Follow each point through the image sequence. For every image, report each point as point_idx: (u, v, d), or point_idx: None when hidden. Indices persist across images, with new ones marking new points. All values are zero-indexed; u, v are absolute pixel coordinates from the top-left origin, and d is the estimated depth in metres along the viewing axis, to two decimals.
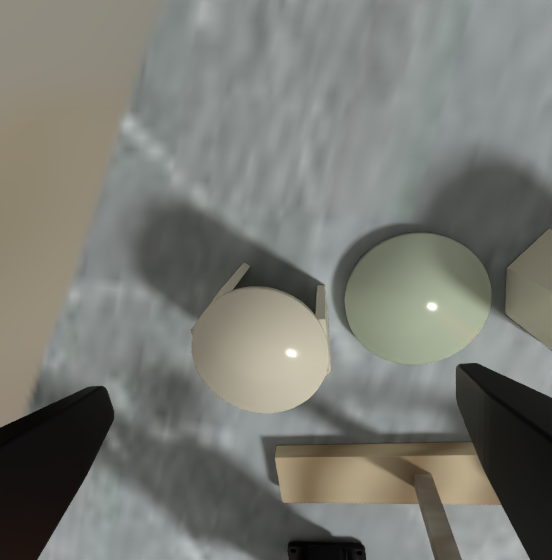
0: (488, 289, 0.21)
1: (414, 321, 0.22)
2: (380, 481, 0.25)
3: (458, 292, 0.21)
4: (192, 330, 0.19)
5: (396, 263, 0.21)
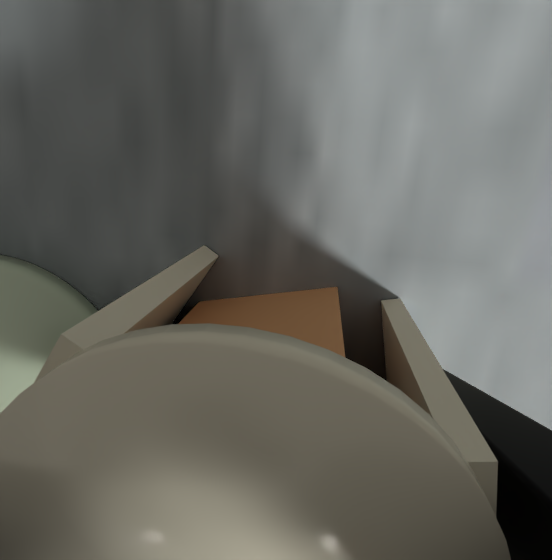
0: None
1: None
2: None
3: None
4: None
5: None
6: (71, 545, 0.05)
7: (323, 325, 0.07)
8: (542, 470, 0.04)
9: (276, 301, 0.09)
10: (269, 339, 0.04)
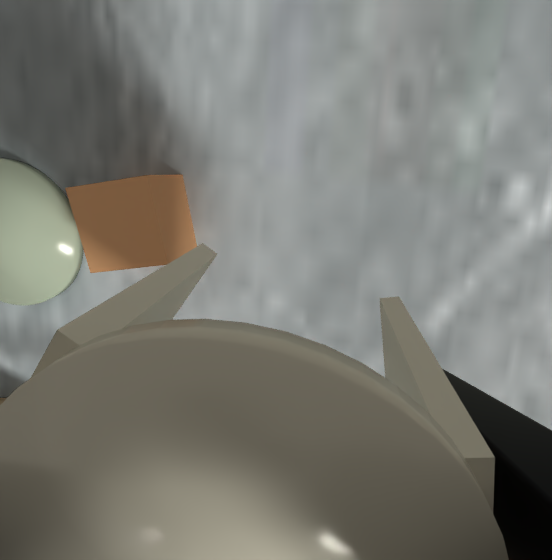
0: (65, 219, 0.19)
1: (10, 256, 0.20)
2: None
3: (39, 223, 0.20)
4: None
5: None
6: (68, 541, 0.05)
7: None
8: (542, 470, 0.04)
9: None
10: (266, 334, 0.04)
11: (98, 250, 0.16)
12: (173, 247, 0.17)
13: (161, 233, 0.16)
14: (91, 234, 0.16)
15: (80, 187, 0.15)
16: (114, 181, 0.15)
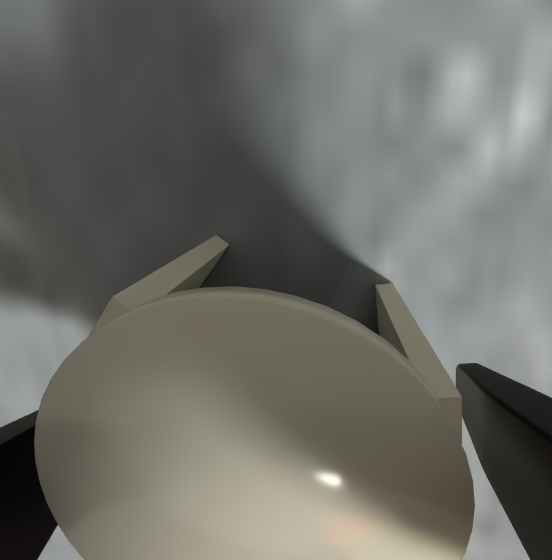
0: None
1: None
2: None
3: None
4: None
5: None
6: (116, 472, 0.06)
7: None
8: None
9: None
10: (281, 297, 0.05)
11: None
12: None
13: None
14: None
15: None
16: None
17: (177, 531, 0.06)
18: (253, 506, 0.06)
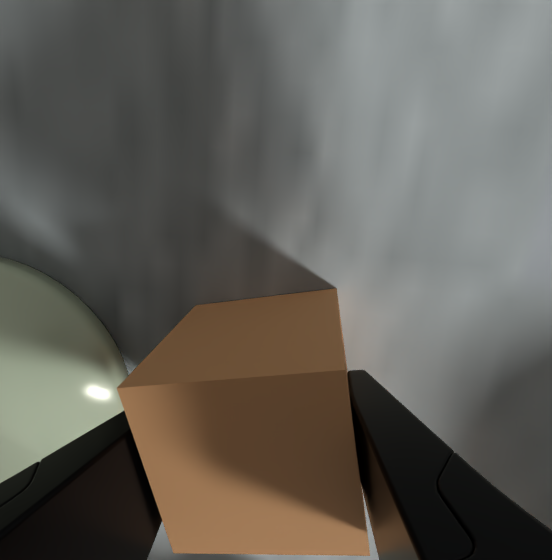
0: (103, 371, 0.10)
1: (0, 426, 0.11)
2: None
3: (53, 377, 0.10)
4: None
5: None
6: None
7: (322, 330, 0.07)
8: (406, 472, 0.04)
9: (273, 305, 0.09)
10: None
11: (194, 515, 0.07)
12: (361, 487, 0.07)
13: (362, 493, 0.06)
14: (180, 484, 0.07)
15: (156, 388, 0.06)
16: (249, 380, 0.06)
17: None
18: None
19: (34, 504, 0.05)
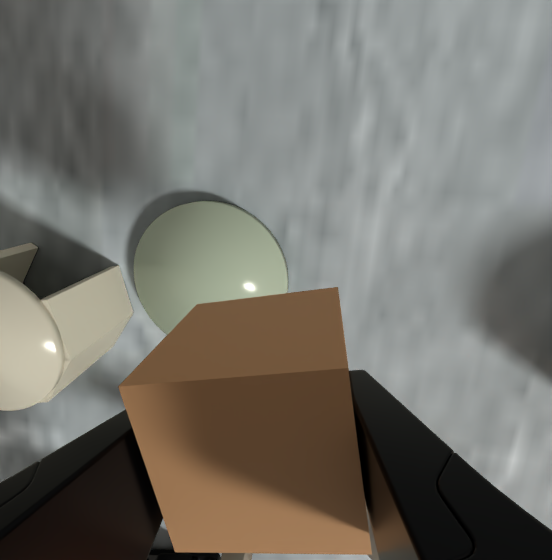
0: (281, 263, 0.18)
1: None
2: None
3: (250, 269, 0.18)
4: None
5: (177, 236, 0.18)
6: None
7: (323, 328, 0.07)
8: (406, 472, 0.04)
9: (274, 304, 0.09)
10: None
11: (195, 514, 0.07)
12: None
13: (363, 492, 0.06)
14: (182, 482, 0.07)
15: (157, 386, 0.06)
16: (251, 378, 0.06)
17: None
18: None
19: (34, 504, 0.05)
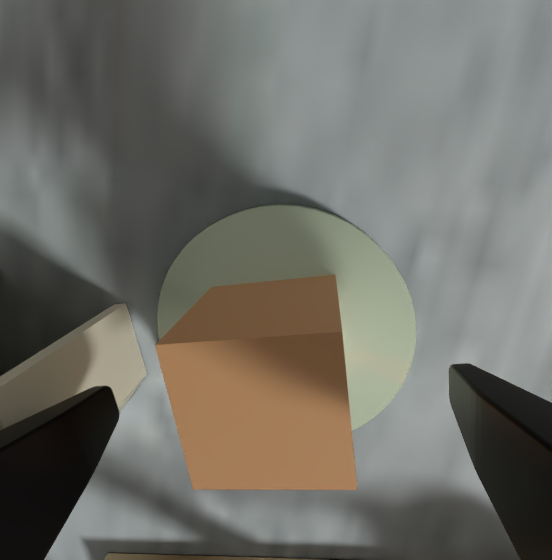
0: (409, 312, 0.11)
1: None
2: None
3: (355, 319, 0.11)
4: None
5: (234, 263, 0.11)
6: None
7: (323, 305, 0.08)
8: None
9: (280, 287, 0.10)
10: None
11: (212, 455, 0.08)
12: None
13: None
14: (203, 427, 0.08)
15: (187, 345, 0.07)
16: (265, 339, 0.07)
17: None
18: None
19: None
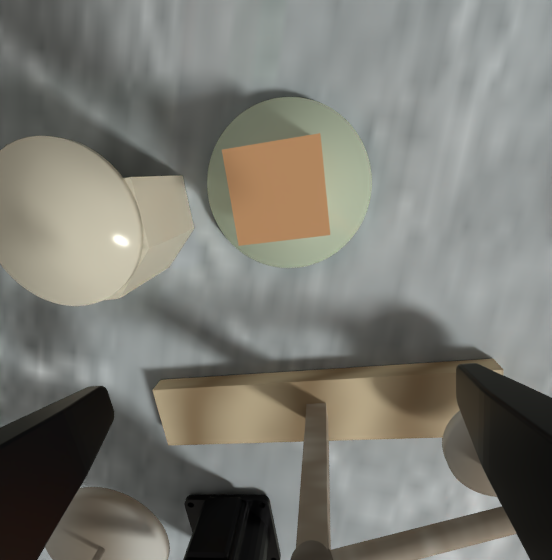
0: (367, 165, 0.17)
1: None
2: (271, 414, 0.22)
3: (333, 172, 0.18)
4: None
5: (258, 137, 0.17)
6: None
7: None
8: None
9: None
10: None
11: (250, 220, 0.15)
12: None
13: (326, 200, 0.14)
14: (245, 201, 0.15)
15: (239, 148, 0.14)
16: (280, 141, 0.14)
17: None
18: None
19: None
